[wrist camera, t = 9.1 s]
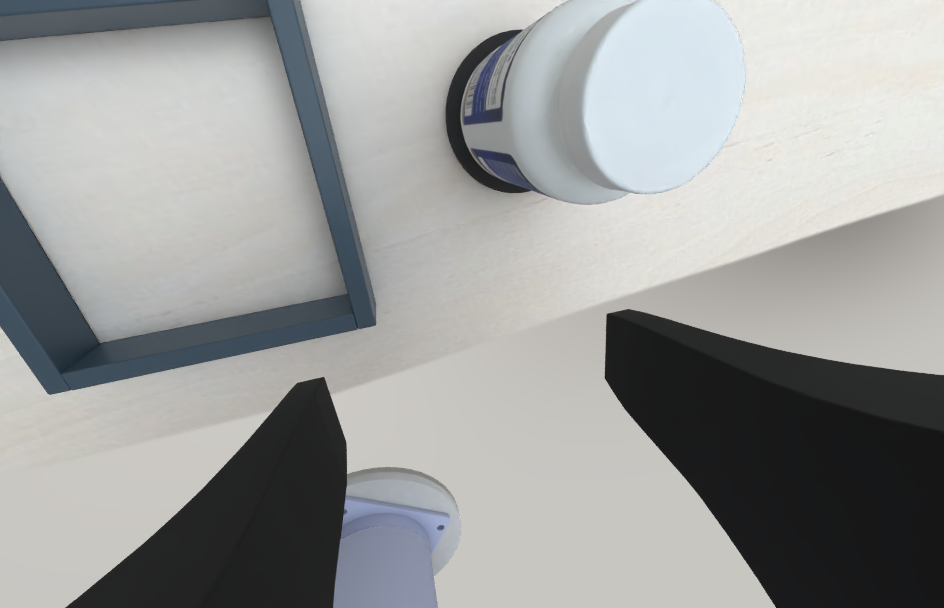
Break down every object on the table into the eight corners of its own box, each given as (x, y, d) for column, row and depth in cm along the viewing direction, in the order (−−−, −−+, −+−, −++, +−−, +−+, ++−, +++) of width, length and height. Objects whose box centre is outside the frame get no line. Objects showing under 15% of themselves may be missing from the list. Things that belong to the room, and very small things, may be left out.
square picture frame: (376, 303, 20) (376, 326, 17) (89, 362, 18) (47, 396, 15) (296, -14, 14) (282, -41, 12) (-125, 20, 12) (-236, -5, 10)
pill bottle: (587, 155, 19) (776, 175, 10) (482, 199, 18) (582, 259, 10) (560, 23, 16) (778, -103, 8) (439, 70, 16) (520, -5, 7)
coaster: (539, 214, 20) (542, 216, 19) (420, 151, 17) (422, 151, 17) (609, 85, 18) (614, 84, 18) (489, -4, 16) (492, -7, 15)
